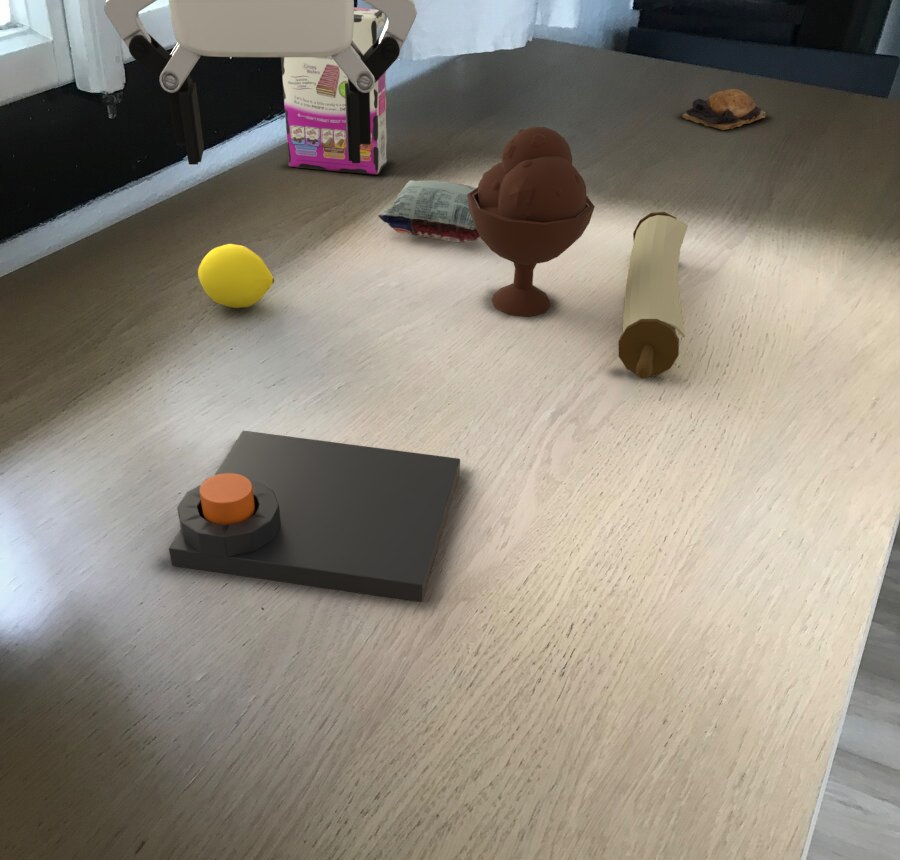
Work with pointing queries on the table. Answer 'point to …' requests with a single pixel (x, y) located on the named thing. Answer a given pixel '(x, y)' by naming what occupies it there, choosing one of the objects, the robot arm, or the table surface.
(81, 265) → the table surface
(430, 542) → the scale
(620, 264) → the table surface
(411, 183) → the packaged food
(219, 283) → the lemon
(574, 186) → the ice cream bowl
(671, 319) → the scroll
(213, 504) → the tare button
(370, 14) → the candy bar box
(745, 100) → the chocolate marshmallow cracker
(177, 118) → the robot arm
